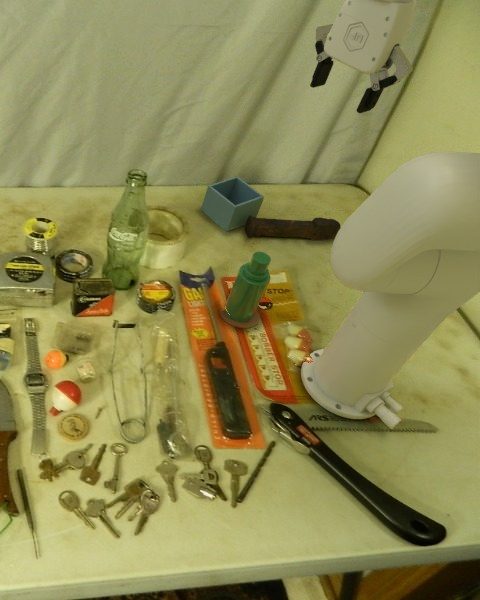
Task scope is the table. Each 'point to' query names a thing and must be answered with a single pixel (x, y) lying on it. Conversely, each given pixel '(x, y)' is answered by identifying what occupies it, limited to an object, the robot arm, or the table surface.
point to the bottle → (248, 288)
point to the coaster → (241, 324)
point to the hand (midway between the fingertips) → (339, 98)
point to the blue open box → (231, 203)
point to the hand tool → (293, 228)
